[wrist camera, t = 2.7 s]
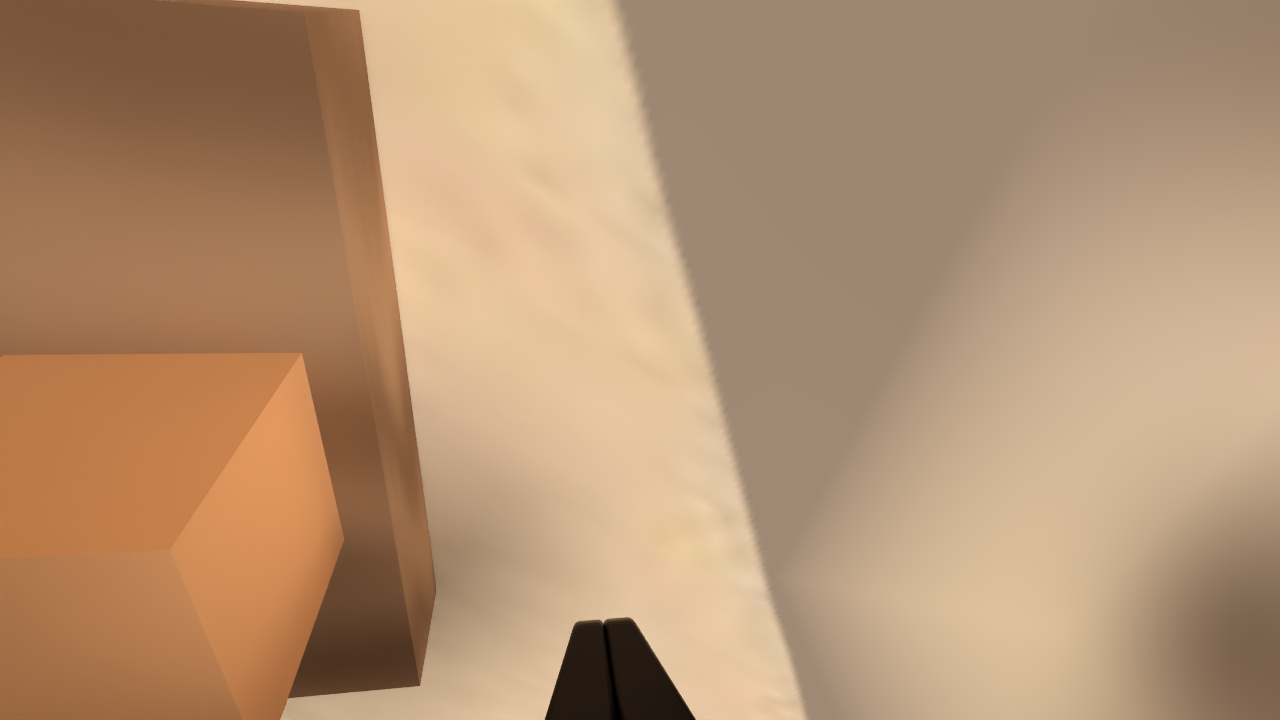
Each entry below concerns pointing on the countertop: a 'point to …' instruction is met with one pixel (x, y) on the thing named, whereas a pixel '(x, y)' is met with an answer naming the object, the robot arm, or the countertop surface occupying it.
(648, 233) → the countertop surface
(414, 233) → the countertop surface
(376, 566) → the trap board
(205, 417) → the block
